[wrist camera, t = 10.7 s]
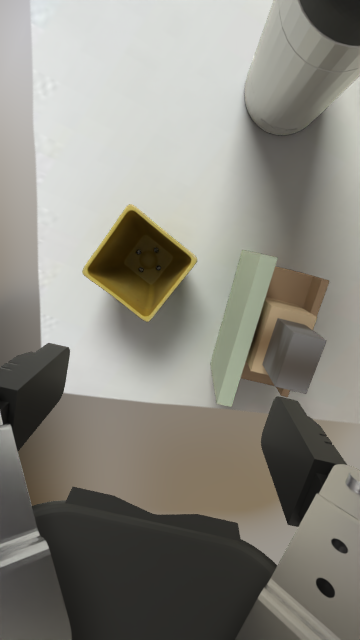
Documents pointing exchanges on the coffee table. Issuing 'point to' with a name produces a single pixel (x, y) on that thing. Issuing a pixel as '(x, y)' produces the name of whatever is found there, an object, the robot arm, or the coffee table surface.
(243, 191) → the coffee table surface
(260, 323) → the cabinet block
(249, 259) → the wall board
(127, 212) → the flower pot
